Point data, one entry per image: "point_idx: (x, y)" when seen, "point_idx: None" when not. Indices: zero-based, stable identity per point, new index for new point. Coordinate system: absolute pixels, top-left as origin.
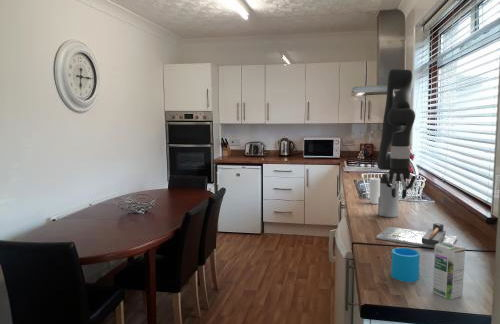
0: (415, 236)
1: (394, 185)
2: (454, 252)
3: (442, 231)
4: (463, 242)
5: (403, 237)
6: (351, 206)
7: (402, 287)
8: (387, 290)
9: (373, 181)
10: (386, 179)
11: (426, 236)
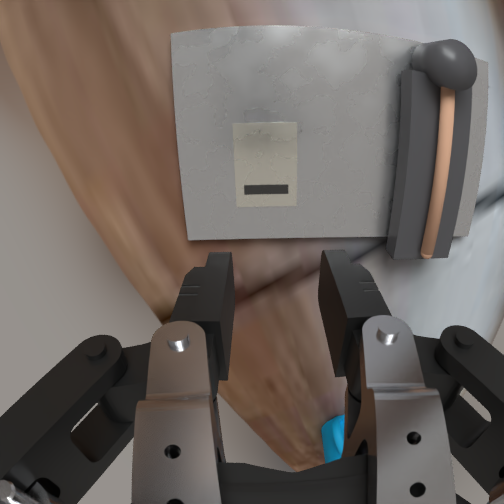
0: (348, 141)
1: (218, 432)
2: None
3: (463, 101)
4: (500, 104)
5: (301, 189)
6: None
7: None
8: (324, 458)
9: None
10: (74, 486)
11: (410, 224)
